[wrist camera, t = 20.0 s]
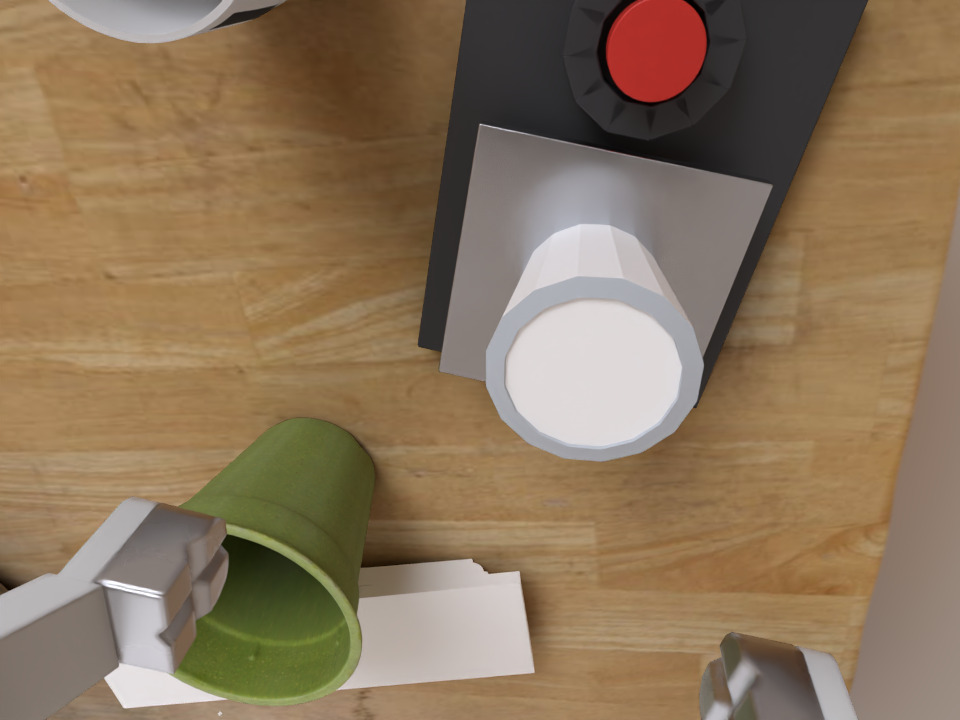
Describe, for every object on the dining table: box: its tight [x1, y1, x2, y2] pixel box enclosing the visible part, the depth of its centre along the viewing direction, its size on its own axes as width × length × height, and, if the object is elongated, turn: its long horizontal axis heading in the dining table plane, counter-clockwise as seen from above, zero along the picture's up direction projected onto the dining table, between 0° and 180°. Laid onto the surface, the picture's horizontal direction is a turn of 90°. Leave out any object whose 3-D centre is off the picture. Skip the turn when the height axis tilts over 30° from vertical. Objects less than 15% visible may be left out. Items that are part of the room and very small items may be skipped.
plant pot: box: [168, 418, 375, 706], centre depth 33 cm, size 12×12×11 cm
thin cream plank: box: [104, 559, 535, 708], centre depth 43 cm, size 10×7×28 cm
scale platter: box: [439, 120, 773, 382], centre depth 27 cm, size 11×11×1 cm
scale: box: [418, 0, 868, 408], centre depth 27 cm, size 18×14×3 cm
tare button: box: [606, 0, 707, 102], centre depth 22 cm, size 3×3×2 cm
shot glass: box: [486, 224, 704, 462], centre depth 23 cm, size 7×7×7 cm
